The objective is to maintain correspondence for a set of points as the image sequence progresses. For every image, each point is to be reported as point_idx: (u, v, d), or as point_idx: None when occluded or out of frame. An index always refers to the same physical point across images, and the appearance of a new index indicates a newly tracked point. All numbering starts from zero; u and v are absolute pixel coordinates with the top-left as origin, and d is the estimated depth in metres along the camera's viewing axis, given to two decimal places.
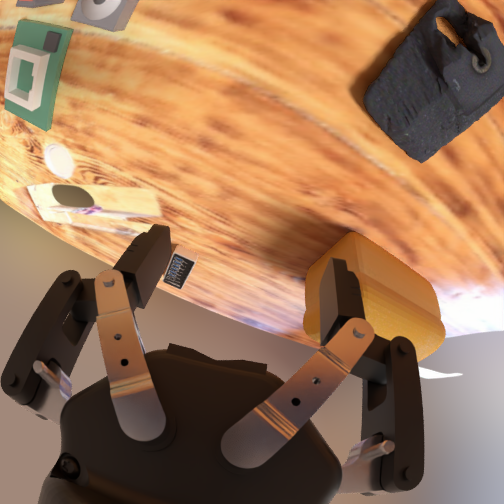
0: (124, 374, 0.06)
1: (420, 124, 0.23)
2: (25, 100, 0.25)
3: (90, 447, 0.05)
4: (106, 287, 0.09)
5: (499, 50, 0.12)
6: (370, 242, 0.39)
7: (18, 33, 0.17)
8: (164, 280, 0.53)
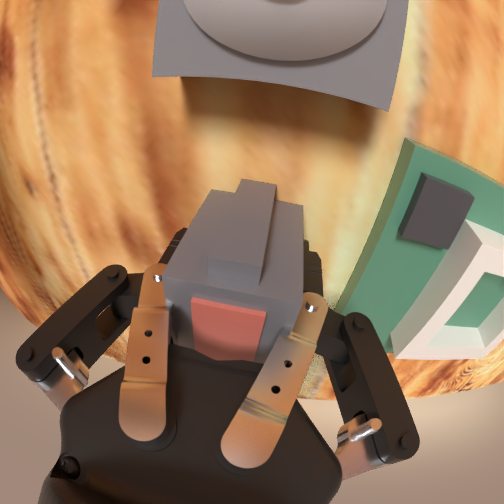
0: (141, 371, 0.06)
1: None
2: None
3: (81, 446, 0.05)
4: (157, 281, 0.10)
5: None
6: None
7: None
8: None
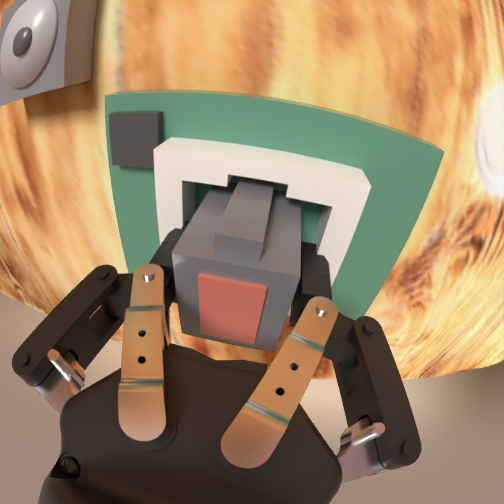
0: (137, 371, 0.06)
1: None
2: (329, 221, 0.12)
3: (83, 446, 0.05)
4: (147, 281, 0.09)
5: None
6: None
7: None
8: None
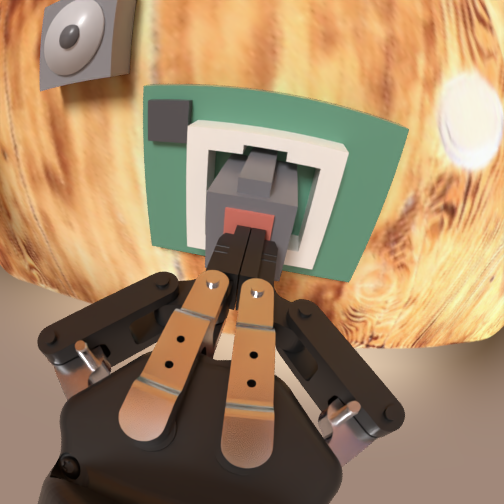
0: (160, 373, 0.06)
1: None
2: (318, 181, 0.16)
3: (73, 441, 0.05)
4: (213, 289, 0.10)
5: None
6: None
7: (174, 240, 0.23)
8: None
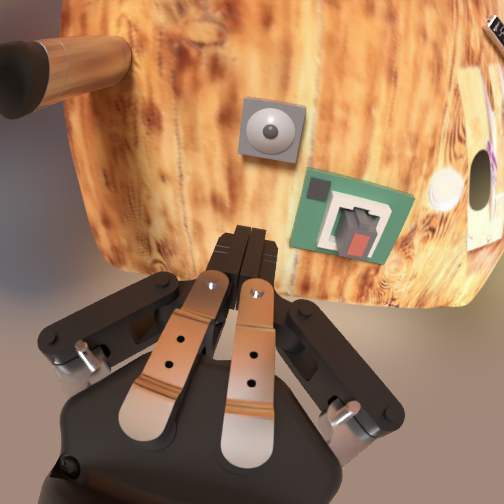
0: (160, 374, 0.06)
1: None
2: (379, 221, 0.38)
3: (73, 441, 0.05)
4: (213, 289, 0.10)
5: None
6: None
7: (304, 243, 0.45)
8: (499, 19, 0.12)
